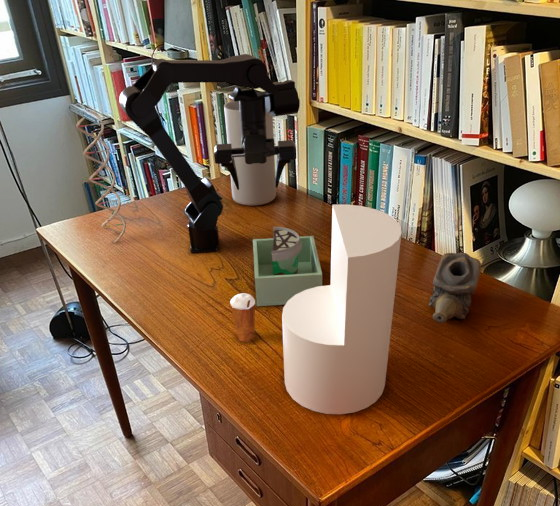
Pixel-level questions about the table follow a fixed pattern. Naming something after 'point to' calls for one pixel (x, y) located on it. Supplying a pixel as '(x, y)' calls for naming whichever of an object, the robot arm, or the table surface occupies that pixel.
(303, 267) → the light green open box
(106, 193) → the dna model
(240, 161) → the cylinder vase
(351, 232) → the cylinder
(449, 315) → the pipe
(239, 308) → the milkshake
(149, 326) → the table surface
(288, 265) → the food container
